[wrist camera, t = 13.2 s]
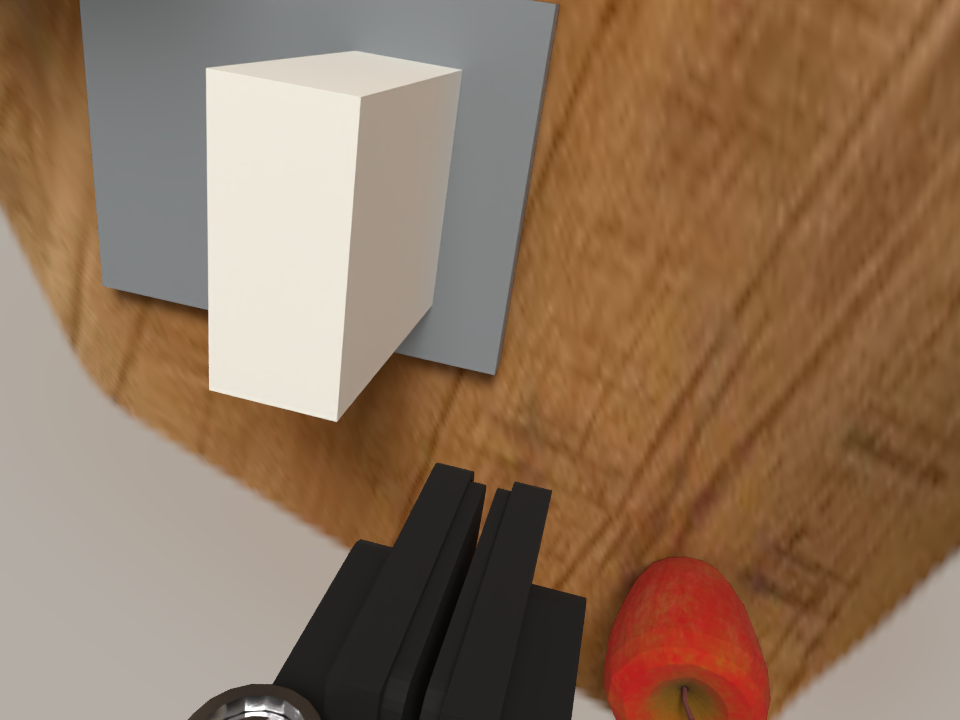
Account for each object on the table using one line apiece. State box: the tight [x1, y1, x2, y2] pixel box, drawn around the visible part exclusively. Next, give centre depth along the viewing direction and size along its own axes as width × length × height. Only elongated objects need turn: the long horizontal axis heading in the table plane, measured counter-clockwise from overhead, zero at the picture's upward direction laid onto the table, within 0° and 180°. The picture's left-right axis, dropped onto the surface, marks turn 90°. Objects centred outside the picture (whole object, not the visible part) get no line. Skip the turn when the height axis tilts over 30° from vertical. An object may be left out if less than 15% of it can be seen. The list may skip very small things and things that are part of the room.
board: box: [79, 0, 560, 375], centre depth 30 cm, size 18×14×1 cm
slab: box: [206, 51, 462, 422], centre depth 25 cm, size 4×9×10 cm, turn 171°
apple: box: [604, 557, 771, 720], centre depth 32 cm, size 6×6×8 cm
